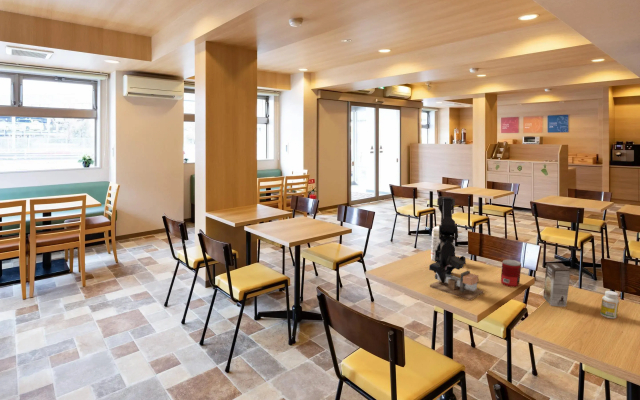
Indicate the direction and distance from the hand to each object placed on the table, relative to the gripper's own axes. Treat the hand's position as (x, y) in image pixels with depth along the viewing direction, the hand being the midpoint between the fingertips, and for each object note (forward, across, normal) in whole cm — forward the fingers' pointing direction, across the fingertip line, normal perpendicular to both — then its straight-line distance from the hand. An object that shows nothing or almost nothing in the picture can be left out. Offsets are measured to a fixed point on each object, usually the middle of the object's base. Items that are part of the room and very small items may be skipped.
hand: (444, 281), depth 183 cm
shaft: (0, 0, -5) cm, 5 cm away
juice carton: (+2, +32, +23) cm, 40 cm away
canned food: (+2, +26, -19) cm, 32 cm away
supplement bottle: (+3, +22, -59) cm, 63 cm away
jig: (+2, 0, -6) cm, 6 cm away
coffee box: (+3, +20, -40) cm, 45 cm away
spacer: (-3, 0, -12) cm, 13 cm away
